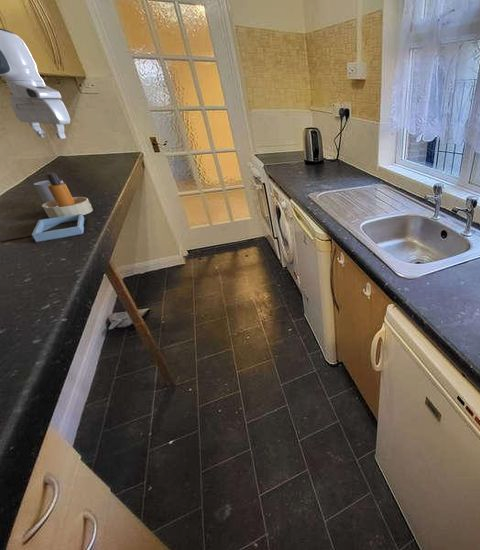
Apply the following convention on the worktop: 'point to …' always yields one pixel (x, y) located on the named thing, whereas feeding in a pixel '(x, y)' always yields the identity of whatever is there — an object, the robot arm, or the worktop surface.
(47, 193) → the cup
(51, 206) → the bowl
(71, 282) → the worktop surface
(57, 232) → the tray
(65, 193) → the orange capped cylinder
